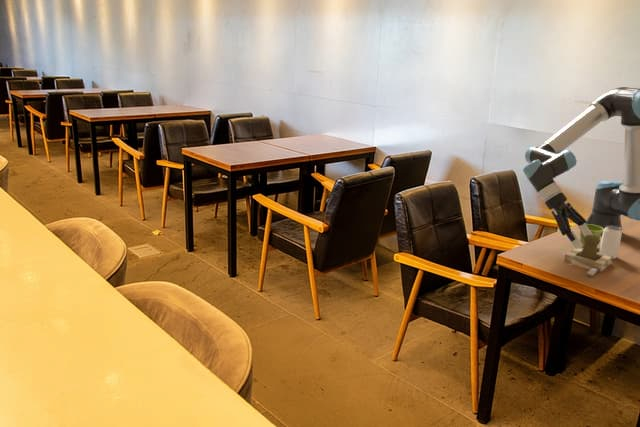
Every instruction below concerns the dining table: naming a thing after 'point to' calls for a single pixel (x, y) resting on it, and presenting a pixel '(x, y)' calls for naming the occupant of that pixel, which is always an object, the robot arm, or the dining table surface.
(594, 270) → the steel rod
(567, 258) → the birch socket block
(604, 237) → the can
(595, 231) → the plant pot
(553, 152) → the robot arm
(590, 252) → the olive rounded piece
